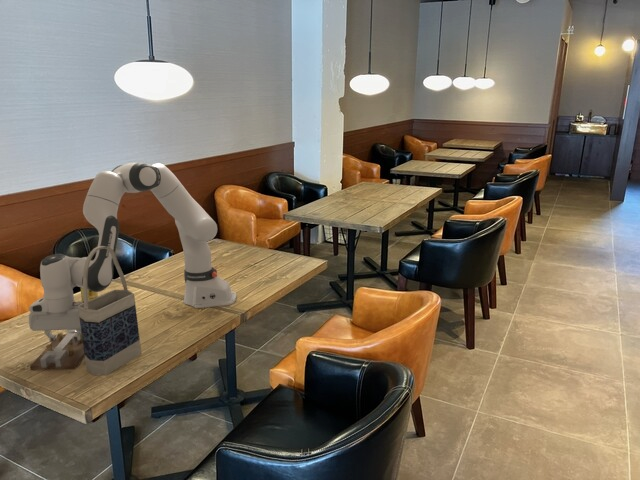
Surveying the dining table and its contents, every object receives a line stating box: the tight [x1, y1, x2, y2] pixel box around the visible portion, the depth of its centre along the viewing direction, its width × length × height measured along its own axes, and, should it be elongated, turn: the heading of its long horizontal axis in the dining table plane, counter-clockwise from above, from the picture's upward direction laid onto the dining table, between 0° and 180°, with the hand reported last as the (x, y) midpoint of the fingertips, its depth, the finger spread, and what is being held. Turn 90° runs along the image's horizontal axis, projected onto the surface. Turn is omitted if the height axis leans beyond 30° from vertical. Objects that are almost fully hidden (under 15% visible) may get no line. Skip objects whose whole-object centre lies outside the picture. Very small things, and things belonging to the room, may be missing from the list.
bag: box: [78, 245, 142, 376], centre depth 162 cm, size 18×9×40 cm, turn 155°
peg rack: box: [29, 332, 85, 371], centre depth 172 cm, size 14×22×5 cm, turn 5°
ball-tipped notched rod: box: [40, 329, 78, 368], centre depth 171 cm, size 23×6×3 cm, turn 5°
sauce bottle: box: [80, 256, 99, 302], centre depth 212 cm, size 7×6×20 cm
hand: (65, 340), depth 172 cm, fingers open, 7 cm apart
